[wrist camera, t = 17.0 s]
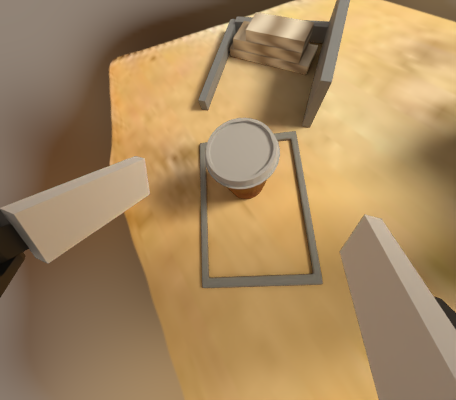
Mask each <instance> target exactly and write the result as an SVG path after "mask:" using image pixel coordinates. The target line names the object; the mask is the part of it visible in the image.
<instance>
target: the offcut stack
mask: <svg viewBox="0 0 456 400" xmlns="http://www.w3.org/2000/svg"><path fill="white" fill-rule="evenodd" d="M313 26H314V22H310V21H304V20H298V19H292V18H287V17H281V16H275V15H269V14H264V13H258V12H256V13H255V15H254V17H253V18H252V20H251V22H248V21H244V22H243V23H242V25H241V26H240V28H239V30H238V31H237V33H236V35H235V36H234V38H233V44H232V45H231V47H230V56H231V57H236V58H240V59H244V60H248V61H252V62H256V63H260V64H264V65H268V66H272V67H276V68H280V69H284V70H288V71H292V72H296V73H300V74H305V75H306V73H307V71H308V69H309V67H310V65H311V63H312V61H313V59H314V56H315V54H316V52H317V49H318V46H319V45H314V44H309V41H310V38H311V33H312V30H313Z"/></svg>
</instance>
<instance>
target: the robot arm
mask: <svg viewBox="0 0 456 400" xmlns="http://www.w3.org/2000/svg"><path fill="white" fill-rule="evenodd" d="M148 195H150V190H149V184H148V177H147V170H146V164H145V159H144V158H141V157H137V156H134V157H132V158H129V159H126V160H124V161H121V162H119V163H116V164H113V165H111V166H108V167H105V168H103V169H100V170H98V171H95V172H92V173H90V174H87V175H85V176H82V177H79V178H77V179H74V180H72V181H69V182H67V183H64V184H61V185H59V186H56V187H53V188H51V189H49V190H46V191H43V192H41V193H38V194H35V195H33V196H30V197H27V198H25V199H22V200H20V201H17V202H15V203H12V204H9V205H7V206H4V207H2V208H0V297H1V295H2V294H3V293H4V291H5V289H6V288H7V286H8V285H9V283H10V281H11V280H12V278H13V277H14V275H15V274H16V272H17V270H18V269H19V267H20V266H21V264H22V263H23V261H24V259H25V254H24V253H23V252H24V251H25V250H27V249H30V251H31V252H32V253H33V255H34V256H35V258H37V259H39V260H42V261H43V262H46V263H49V262H51V261H52V260H54V259H55V258H57V257H58V256H60V255H61V254H62V253H64V252H66V251H67V250H69V249H70V248H72V247H73V246H75V245H76V244H78V243H79V242H80V241H82V240H83V239H85V238H86V237H88V236H89V235H91V234H92V233H94V232H95V231H97V230H98V229H100V228H101V227H103V226H104V225H105V224H107V223H108V222H110V221H111V220H113V219H114V218H116V217H117V216H119V215H120V214H122V213H123V212H125V211H126V210H127V209H129V208H130V207H132V206H133V205H135V204H136V203H138V202H139V201H141V200H142V199H144V198H145V197H147V196H148ZM340 255H341V259H342V262H343V266H344V270H345V274H346V277H347V281H348V285H349V289H350V292H351V296H352V300H353V304H354V308H355V311H356V315H357V319H358V323H359V326H360V330H361V334H362V338H363V342H364V345H365V349H366V353H367V357H368V360H369V364H370V368H371V372H372V376H373V379H374V383H375V387H376V391H377V394H378V398H379V400H456V313H455V312H454V311H453V310H452V309H451V308H450V307H449V306H448V305H447V304H446V303H445V302H444V301H443V300H442V299H440V298H437V297H434V296H433V295H432V293H431V292H430V290H429V289H428V287H427V286H426V284H425V283H424V281H423V280H422V278H421V277H420V275H419V274H418V273H417V271H416V270H415V268H414V267H413V265H412V264H411V262H410V261H409V259H408V258H407V256H406V255H405V253H404V252H403V250H402V249H401V247H400V246H399V244H398V243H397V241H396V240H395V238H394V237H393V235H392V234H391V232H390V231H389V229H388V228H387V226H386V225H385V223H384V222H383V220H382V219H380V218H376V217H373V216H369V215H365V214H364V216H363V217H362V219H361V220H360V222H359V223H358V225H357V226H356V228H355V229H354V231H353V232H352V234H351V235H350V237H349V238H348V240H347V241H346V243H345V244H344V246H343V247H342V249H341V250H340Z"/></svg>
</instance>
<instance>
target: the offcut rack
mask: <svg viewBox="0 0 456 400" xmlns="http://www.w3.org/2000/svg"><path fill="white" fill-rule="evenodd" d="M349 2H350V0H337V1H336V4H335V7H334V10H333V13H332V16H331V18H330V21H329V22H326V21H310V22H314V26H313V30H312V33H311V38H310V41H309V42H314V43H322V47H321V51H320V55H319V59H318V63H317V67H316V71H315V76H314V80H313V84H312V88H311V92H310V96H309V100H308V104H307V108H306V112H305V116H304V120H303V124H302V126H305V127H310V126H311V124H312V122H313V120H314V118H315V116H316V114H317V111H318V109H319V107H320V105H321V103H322V101H323V99H324V97H325V95H326V93H327V91H328V89H329V86H330V84H331V82H332V78H333V74H334V69H335V65H336V60H337V56H338V51H339V47H340V42H341V38H342V33H343V29H344V24H345V20H346V15H347V11H348V6H349ZM251 20H252V18H251V17H236V19H231V20H230V22H229V25H228V27H227V30H226V32H225V35H224V37H223V40H222V42H221V45H220V47H219V50H218V52H217V55H216V57H215V60H214V62H213V65H212V67H211V70H210V72H209V75H208V77H207V80H206V82H205V85H204V87H203V90H202V92H201V95H200V97H199V100H198V101H199V103H200V106H201V109H204V110H208V109H209V106H210V103H211V101H212V98H213V96H214V93H215V90H216V88H217V85H218V82H219V80H220V77H221V75H222V72H223V69H224V67H225V64H226V61H227V59H228V56H229V54H230V47H231V45H232V44H233V38H234V36H235V35H236V33H237V31H238V30H239V28H240V26H241V25H242V23H243V22H244V21H248V22H251ZM304 21H307V20H304Z"/></svg>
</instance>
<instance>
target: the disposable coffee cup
mask: <svg viewBox="0 0 456 400" xmlns="http://www.w3.org/2000/svg"><path fill="white" fill-rule="evenodd" d="M279 157H280V148H279V144H278V141H277V139H276V137H275V135H274V134H273V133H272V131H271V130H270V128H269V127H268V126H266V125H265V124H264V123H262V122H260V121H258V120H255V119H250V118H237V119H232V120H230V121H227V122H225V123H223V124H222V125H221V126H219V127H218V128H217V129H216V130H215V131H214V132H213V133H212V135H211V136H210V138H209V140H208V143H207V146H206V152H205V163H206V167H207V169H208V172H209V173H210V175H211V176H212V177H213V178H214V179H215V180H216V181H217V182H218V183H220V184H221V185H223V186H226V187H227V188H228V189H229V190H230V191H231V192H233V194H235V195H236V196H237V197H239V198H243V199H250V198H253V197H255V196H257V195H258V194H259V193H260V192H261V190H262V188H263V186H264V184H265V183H266V180H267V179H268V178H269V177H270V176H271V175H272V174H273V172H274V171H275V169H276V167H277V165H278V162H279Z"/></svg>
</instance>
